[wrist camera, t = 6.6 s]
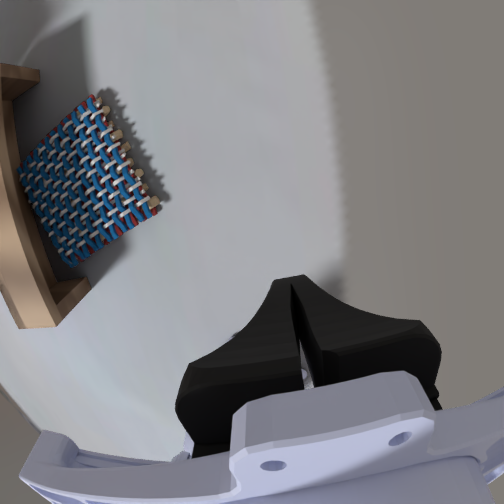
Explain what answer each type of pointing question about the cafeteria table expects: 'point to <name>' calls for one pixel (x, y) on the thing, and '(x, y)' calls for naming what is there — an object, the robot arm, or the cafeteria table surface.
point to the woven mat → (85, 183)
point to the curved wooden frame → (26, 228)
